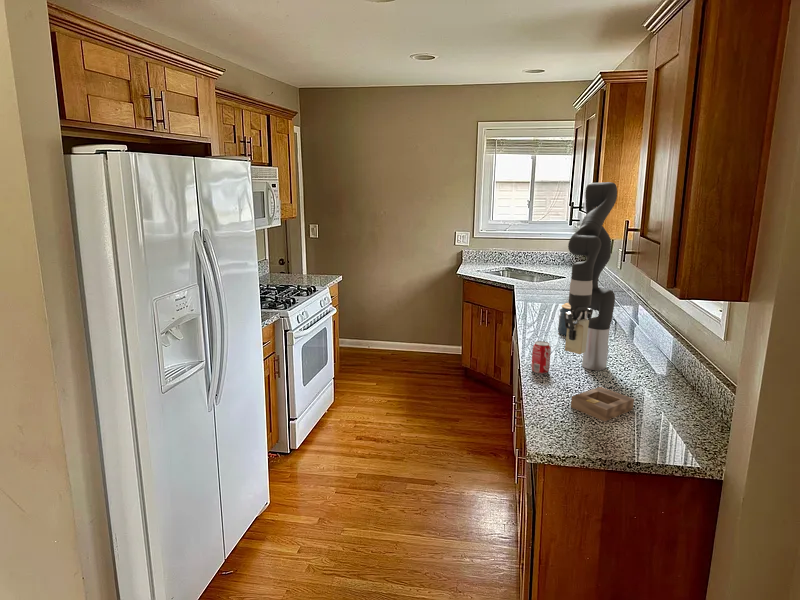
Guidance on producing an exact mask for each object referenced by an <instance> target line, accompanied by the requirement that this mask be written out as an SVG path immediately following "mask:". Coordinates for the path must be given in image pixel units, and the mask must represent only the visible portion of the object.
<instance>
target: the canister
mask: <svg viewBox="0 0 800 600" xmlns="http://www.w3.org/2000/svg"><path fill="white" fill-rule="evenodd" d="M561 307H562V308H560V309H559V313H560V314H559V316H558V326H557V333H558V332H559V333H560V334H559V333H558V334H559V335H561V334H563V335H562V336H564V335H566V334H567V328H565V319H564V313H569V312H570V309H571V306H570V305H569V302H566V303H564V304H562V305H561Z"/></svg>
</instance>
